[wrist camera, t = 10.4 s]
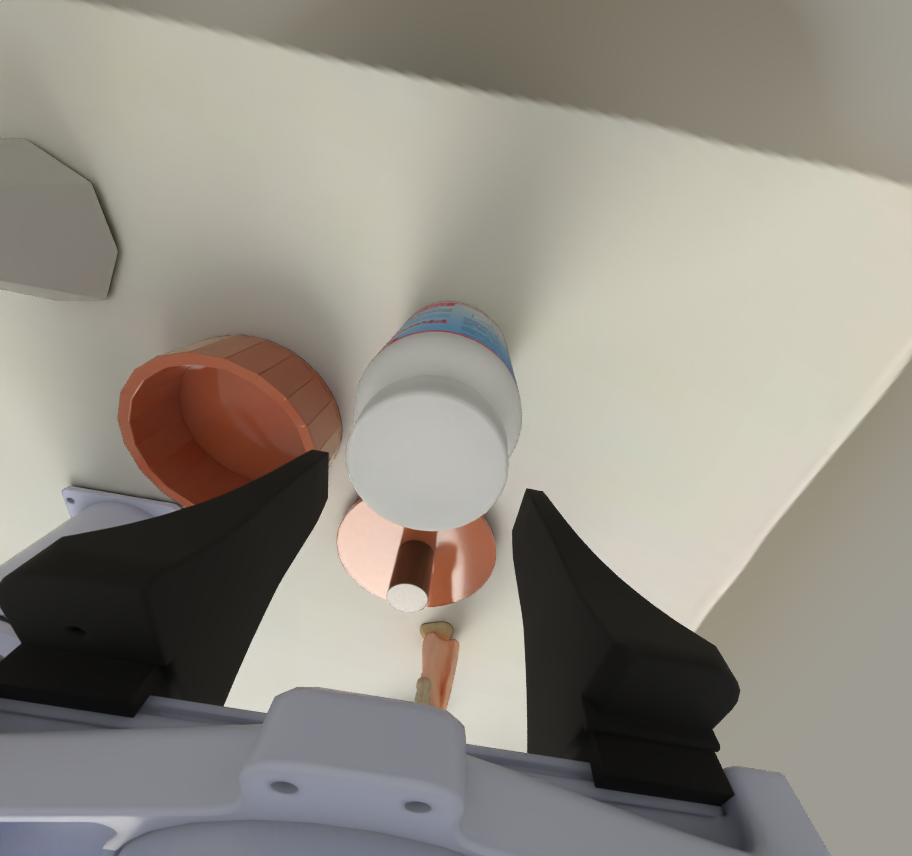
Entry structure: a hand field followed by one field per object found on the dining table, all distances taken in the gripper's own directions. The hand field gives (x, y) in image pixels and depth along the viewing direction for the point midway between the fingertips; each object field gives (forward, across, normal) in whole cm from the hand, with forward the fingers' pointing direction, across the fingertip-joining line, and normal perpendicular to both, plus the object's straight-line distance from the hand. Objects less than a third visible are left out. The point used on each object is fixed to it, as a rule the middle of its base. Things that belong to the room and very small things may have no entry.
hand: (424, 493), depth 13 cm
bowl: (+9, +11, +4) cm, 15 cm away
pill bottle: (+9, 0, -2) cm, 10 cm away
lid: (+8, 0, +11) cm, 14 cm away
